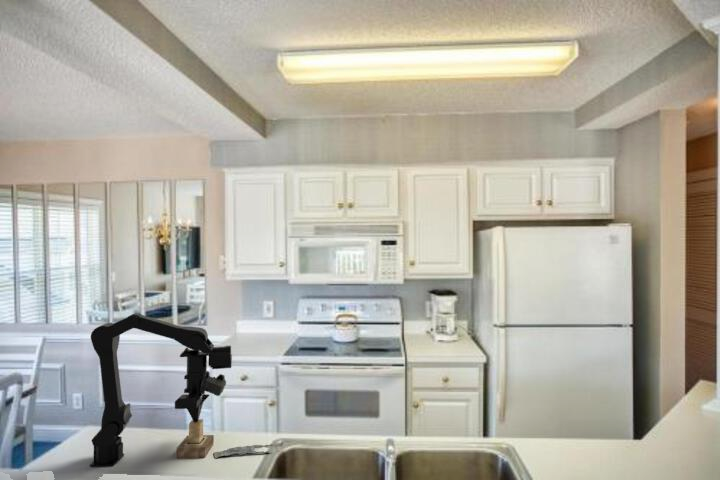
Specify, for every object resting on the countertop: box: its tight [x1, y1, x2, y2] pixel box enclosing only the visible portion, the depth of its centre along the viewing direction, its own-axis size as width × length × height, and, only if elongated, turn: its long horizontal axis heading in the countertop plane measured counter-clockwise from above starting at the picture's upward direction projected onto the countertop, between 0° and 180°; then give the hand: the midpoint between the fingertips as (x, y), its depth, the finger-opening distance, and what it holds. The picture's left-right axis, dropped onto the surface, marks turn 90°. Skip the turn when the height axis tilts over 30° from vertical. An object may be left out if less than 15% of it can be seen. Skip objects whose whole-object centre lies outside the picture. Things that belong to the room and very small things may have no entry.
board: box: [176, 434, 215, 459], centre depth 126 cm, size 8×8×3 cm
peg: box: [188, 418, 204, 444], centre depth 126 cm, size 3×3×9 cm
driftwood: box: [213, 441, 284, 459], centre depth 126 cm, size 21×7×2 cm, turn 100°
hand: (196, 421), depth 126 cm, fingers closed, pressing on peg
